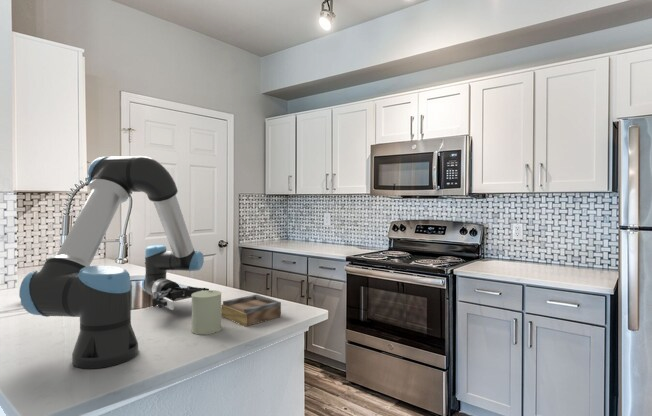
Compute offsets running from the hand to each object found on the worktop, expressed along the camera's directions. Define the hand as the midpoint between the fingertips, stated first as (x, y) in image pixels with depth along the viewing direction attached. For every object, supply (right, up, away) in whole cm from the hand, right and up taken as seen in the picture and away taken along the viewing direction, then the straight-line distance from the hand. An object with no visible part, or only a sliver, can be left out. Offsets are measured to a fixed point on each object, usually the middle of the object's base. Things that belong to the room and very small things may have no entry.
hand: (192, 301), depth 130 cm
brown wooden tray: (+18, -7, +7) cm, 21 cm away
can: (+7, -8, -7) cm, 12 cm away
